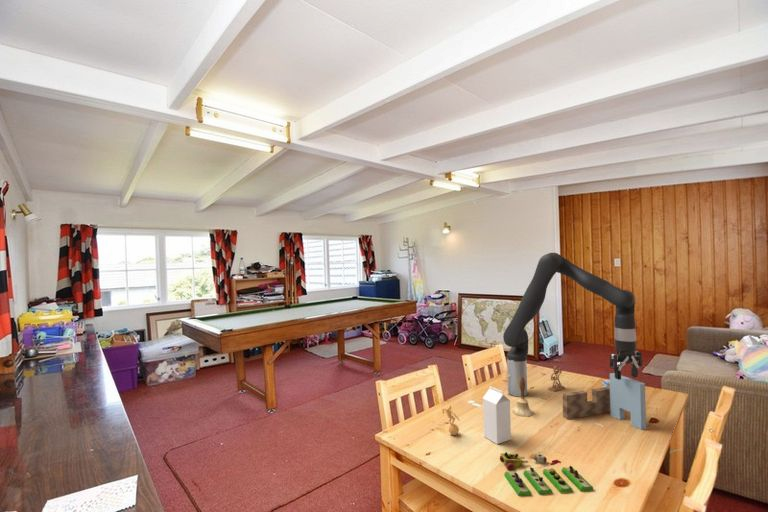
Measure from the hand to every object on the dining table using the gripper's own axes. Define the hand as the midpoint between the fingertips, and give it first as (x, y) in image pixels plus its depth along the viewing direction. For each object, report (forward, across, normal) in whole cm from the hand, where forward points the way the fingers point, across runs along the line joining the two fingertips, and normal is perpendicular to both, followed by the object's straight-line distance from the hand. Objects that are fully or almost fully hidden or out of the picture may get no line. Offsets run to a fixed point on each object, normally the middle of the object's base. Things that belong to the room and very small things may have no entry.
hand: (626, 378), depth 152 cm
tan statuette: (+18, 0, +40) cm, 44 cm away
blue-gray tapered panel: (+18, 0, 0) cm, 18 cm away
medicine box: (+18, +14, +20) cm, 31 cm away
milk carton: (+18, -58, +5) cm, 61 cm away
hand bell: (+18, -34, +22) cm, 44 cm away
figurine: (+18, -73, +13) cm, 76 cm away
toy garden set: (+19, -58, -19) cm, 64 cm away
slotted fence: (+18, -8, +11) cm, 23 cm away
